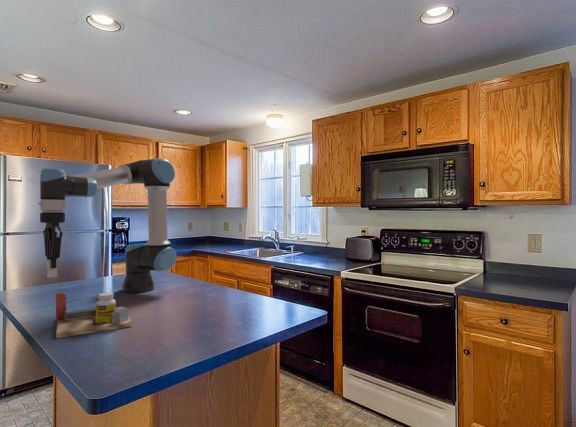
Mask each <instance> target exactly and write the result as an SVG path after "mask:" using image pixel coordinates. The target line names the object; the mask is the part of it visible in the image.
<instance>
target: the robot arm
mask: <svg viewBox="0 0 576 427" xmlns="http://www.w3.org/2000/svg"><path fill="white" fill-rule="evenodd" d="M39 175H40V177H39V184H40V186H39V187H40V188H39V191H40V192H39V194H40V195H39V197H40V198H39V199H40V200H39V201H40V202H38V205H39V208H40V209H39V210H40V211H42V212H40V213H39V222H40V223H42V224H45V227H44V230H43V231H42V234H43V242H44V256H45V257H46V260H47V263H46V267H47V269H46V270H47V271H46V274H47V275H46V277H47V278H48V279H50V278H51V279H52V278H57V277H58V259H59V258H61V246H62V237H63V233H64V232H63V231H61V227H60V223H61V224H62V223H65V221H66V213H65V211H66V198H67V197H69V198H70V197H71V198H72V197H76V198H77V197H78V198H79V197H82V198H89V197H90V198H91V197H92V198H93V197H94V196H95V195H96V194H97V193H98V190H100V189H104V188H107V187H108V188H109V187H112V186H116V185H121V184H123V185H126V186H127V185H132V184H133V185H134V184H139V185H140V184H141V185H142V184H143V185H144V186H143V188H145V189H146V191H147V211H148V213H147V215H148V216H147V217H148V218H147V219H148V220H147V223H148V224H147V225H148V241H146V243H138V244H130V245H129V244H128V245H127V246H126V247H125V276H124V279H123V282H122V286H121V291H122V292H123V293H126V294H127V293H130V294H133V293H144V292H150V291H153V290H154V289H155V282H154V278H153V276H152V272H151V271H155V272H167V271H169V270H171V269H172V268H173V266H174V265H175V263H176V261H177V253H176V250H175V249H174V248H172V244H171V241H169V238H168V198H167V191H168V190H169V188H171V183H172V182H173V181H174V179H175V176H176V171H175V168H174V166H173V164H171V162H170V161H168V159H165V158H150V159H140V160H137V161H132V162H128V163H124V164H120V165H119V166H118V167H114V168H108V169H103V170H98V171H91V172H86V173H80V174H74V175H67V174H66V171H65V170H64V169H61V168H43V169H41V170H40V174H39Z"/></svg>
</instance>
